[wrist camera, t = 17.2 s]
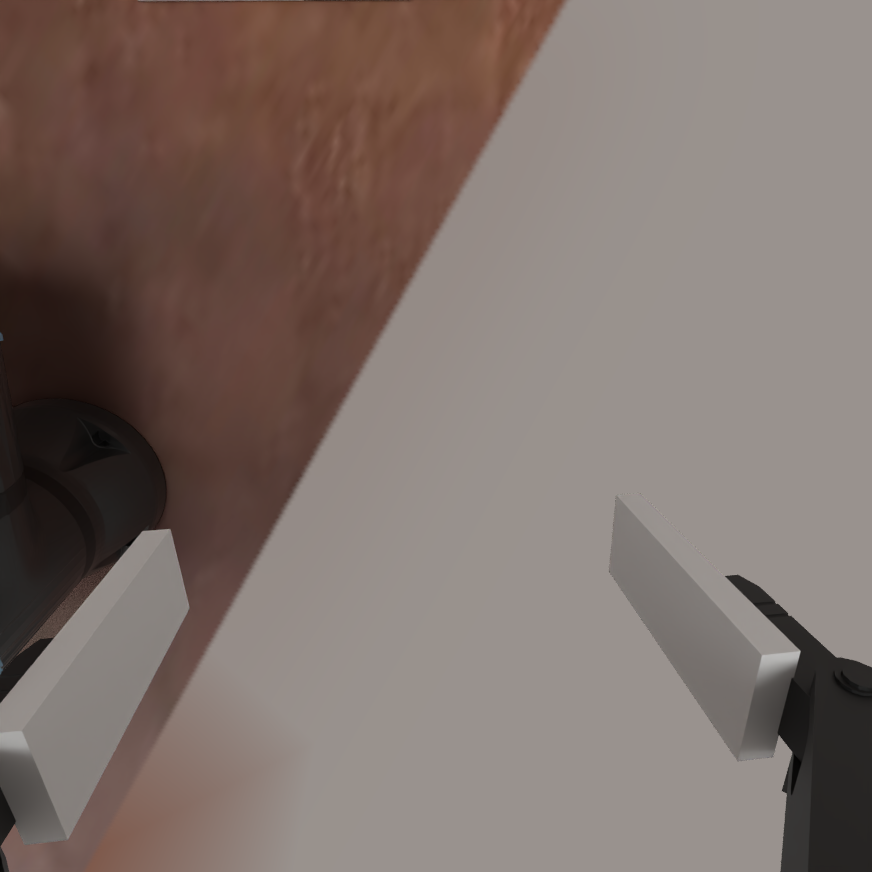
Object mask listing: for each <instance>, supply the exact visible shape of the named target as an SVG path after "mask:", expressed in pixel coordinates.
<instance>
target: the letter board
mask: <svg viewBox="0 0 872 872" xmlns="http://www.w3.org/2000/svg"><path fill="white" fill-rule="evenodd" d="M138 1H302V0H138Z"/></svg>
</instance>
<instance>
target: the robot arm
mask: <svg viewBox="0 0 872 872" xmlns="http://www.w3.org/2000/svg"><path fill="white" fill-rule="evenodd" d="M0 341H3V335H2V334H1V332H0ZM165 500H166V485H165V479H164V474H163V471H162V468H161V465H160V463H159V461H158V459H157V457H156V455H155V453H154V452H153V450H152V449H151V447H150V446H149V444H148V443H147V442H146V441H145V440H144V438H143V437H142V436H141V435H140V434H139V433H138V432H137V431H136V430H135V429H133V428H132V427H131V426H130V425H129V424H127V423H126V422H125V421H123V420H122V419H120V418H119V417H117V416H115V415H114V414H112V413H110V412H108V411H106V410H104V409H101V408H99V407H96V406H94V405H91V404H88V403H84V402H80V401H75V400H69V399H40V400H34V401H30V402H26V403H23V404H20V405H18V406H16V407H13V408H12V403H11V397H10V392H9V387H8V381H7V376H6V370H5V365H4V360H3V354H2V349H1V343H0V846H1V844H2V843H3V841H4V840H5V838H6V837H7V835H8V833H9V832H10V830H11V829H12V827H13V825H14V824H15V825H16V827H17V830H18V832H19V834H20V836H21V838H22V840H23V842H24V845H28V844H37V843H45V842H54V841H62V840H68V839H69V837H70V835H71V833H72V831H73V829H74V827H75V825H76V823H77V822H78V820H79V818H80V816H81V814H82V812H83V810H84V808H85V806H86V804H87V803H88V801H89V799H90V797H91V795H92V793H93V791H94V789H95V787H96V785H97V783H98V782H99V780H100V778H101V776H102V774H103V772H104V770H105V768H106V766H107V764H108V763H109V761H110V759H111V757H112V755H113V753H114V751H115V749H116V747H117V745H118V744H119V742H120V740H121V738H122V736H123V734H124V732H125V730H126V728H127V726H128V725H129V723H130V721H131V719H132V717H133V715H134V713H135V711H136V709H137V707H138V706H139V704H140V702H141V700H142V698H143V696H144V694H145V692H146V690H147V688H148V686H149V685H150V683H151V681H152V679H153V677H154V675H155V673H156V671H157V669H158V667H159V666H160V664H161V662H162V660H163V658H164V656H165V654H166V652H167V650H168V648H169V647H170V645H171V643H172V641H173V639H174V637H175V635H176V633H177V631H178V629H179V628H180V626H181V624H182V622H183V620H184V618H185V616H186V614H187V612H188V610H189V609H190V607H189V603H188V599H187V595H186V591H185V587H184V583H183V579H182V575H181V570H180V566H179V562H178V558H177V554H176V550H175V546H174V542H173V538H172V533H171V529H163V530H153V529H154V528H155V526H156V525H157V523H158V521H159V520H160V517H161V515H162V513H163V510H164V506H165ZM116 562H117V563H116ZM114 563H116V564H115V565H114V566H113V568H112V569H111V570H110V571H109V572H108V574H107V575H106V576H105V577H104V578H103V580H102V581H101V582H100V583H99V584H98V586H97V587H96V588H95V589H94V591H93V592H92V593H91V594H90V595H89V597H88V598H87V599H86V600H85V601H84V603H83V604H82V605H81V606H80V607H79V609H78V610H77V611H76V612H75V613H74V615H73V616H72V617H71V618H70V620H69V621H68V622H67V623H66V624H65V626H64V627H63V628H62V629H61V630H60V632H59V633H58V634H57V635H56V636H55V638H47V639H40V640H38V641H37V642H36V643H34V644H33V645H31V646H30V647H29V648H27V649H26V650H24V651H23V652H22V653H20V654H19V655H18V656H16V655H17V654H18V653H19V652H20V651H21V650H22V648H23V647H24V646H25V645H26V644H27V643H28V641H29V640H30V639H31V638H32V637H33V636H34V634H35V633H36V632H37V631H38V630H39V629H40V627H41V626H42V625H43V624H44V623H45V622H46V620H47V619H48V618H49V617H50V616H51V615H52V613H53V612H54V611H55V610H56V609H57V608H58V606H59V605H60V604H61V603H62V602H63V601H64V599H65V598H66V597H67V596H68V595H69V594H70V592H71V591H72V590H73V589H74V588H75V587H76V585H77V584H78V583H79V582H80V581H81V580H82V579H83V578H85V577H87V576H89V575H91V574H93V573H96V572H98V571H100V570H102V569H104V568H106V567H108V566H110V565H112V564H114ZM609 572H610V574H611V575H612V577H613V578H614V580H615V581H616V583H617V584H618V586H619V587H620V588H621V590H622V591H623V593H624V594H625V596H626V597H627V599H628V600H629V602H630V603H631V605H632V606H633V608H634V609H635V611H636V612H637V614H638V615H639V617H640V618H641V620H642V621H643V623H644V624H645V625H646V627H647V628H648V630H649V631H650V633H651V634H652V636H653V637H654V639H655V640H656V642H657V643H658V645H659V646H660V648H661V649H662V651H663V652H664V653H665V655H666V656H667V658H668V659H669V661H670V662H671V664H672V665H673V667H674V668H675V670H676V671H677V673H678V674H679V676H680V677H681V679H682V680H683V682H684V683H685V684H686V686H687V687H688V689H689V690H690V692H691V693H692V695H693V696H694V698H695V699H696V700H697V702H698V704H699V705H700V707H701V708H702V709H703V711H704V712H705V714H706V715H707V717H708V718H709V720H710V721H711V723H712V724H713V726H714V727H715V729H716V730H717V731H718V733H719V734H720V736H721V737H722V739H723V740H724V742H725V743H726V745H727V746H728V748H729V749H730V751H731V752H732V754H733V755H734V757H735V758H736V759H737V761H744V760H753V759H761V758H769V757H773V755H774V751H775V747H776V744H777V740H778V736H779V735H780V737H781V738H782V739H783V741H784V742H785V743H786V744H787V746H788V747H789V748H790V749H791V751H792V752H793V753H792V757H791V760H790V764H789V767H788V771H787V775H786V778H785V782H784V785H783V789H782V791H783V792H785V793H787V800H786V811H785V824H784V836H783V849H782V860H781V872H872V667H869V666H867V665H864V664H862V663H860V662H857V661H854V660H849V659H844V658H836V657H835V656H834V655H833V654H832V653H831V652H830V651H828V650H827V649H826V648H825V647H824V646H823V645H822V644H821V643H820V642H819V641H818V640H817V639H815V638H814V637H813V636H812V635H811V634H810V633H809V632H808V631H807V630H806V629H805V628H804V627H802V626H801V625H800V624H799V623H798V622H797V621H796V620H795V619H794V618H793V617H792V616H788V613H787V612H786V611H785V610H784V609H783V608H782V607H781V606H780V605H779V604H775V601H774V600H773V599H772V598H771V597H770V596H769V595H768V594H767V593H766V592H765V591H763V590H762V589H761V588H760V587H759V586H757V585H755V584H754V583H752V582H750V581H748V580H746V579H745V578H743V577H741V576H739V575H732V576H724V575H723V574H722V573H721V572H720V571H719V570H718V569H717V568H716V567H715V566H714V565H713V564H712V563H711V562H710V561H709V560H708V559H707V558H706V557H705V556H704V555H702V553H701V552H699V550H698V549H696V547H695V546H693V544H692V543H691V542H690V541H689V540H688V539H686V538H685V537H684V536H683V535H682V534H681V533H680V532H679V531H678V530H677V529H676V528H675V527H674V526H673V525H672V524H671V523H670V522H669V521H668V520H667V519H666V518H665V517H664V516H663V515H662V514H661V513H660V512H659V511H658V510H657V509H656V508H655V507H654V506H653V505H652V504H651V503H650V502H649V501H648V500H647V499H646V498H645V497H644V496H643V495H642V494H641V493H633V494H620V495H616V500H615V511H614V522H613V533H612V544H611V554H610V565H609ZM13 659H14V660H13ZM12 660H13V661H12ZM11 661H12V662H11ZM10 662H11V663H10ZM5 668H6V669H5ZM4 669H5V670H4ZM0 872H9V869H8V865H7V861H6V857H5V855H4V853H3V851H2V849H1V847H0Z"/></svg>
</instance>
